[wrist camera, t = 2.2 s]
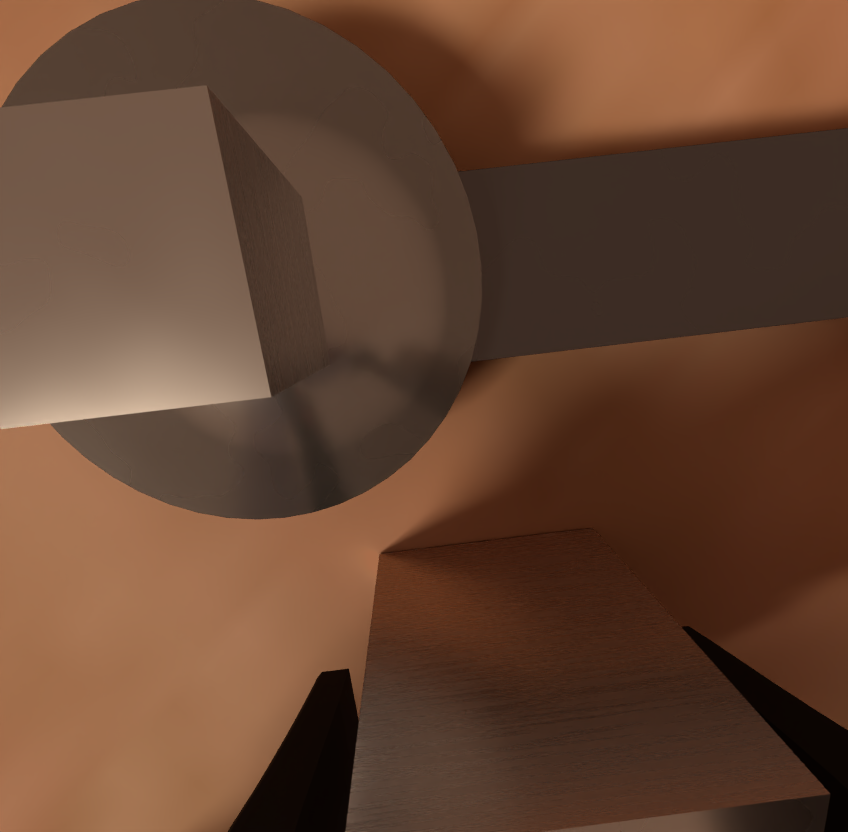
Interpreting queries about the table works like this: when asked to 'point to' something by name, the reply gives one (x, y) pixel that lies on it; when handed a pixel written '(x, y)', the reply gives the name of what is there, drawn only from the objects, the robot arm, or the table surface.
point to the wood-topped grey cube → (555, 704)
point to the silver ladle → (340, 254)
